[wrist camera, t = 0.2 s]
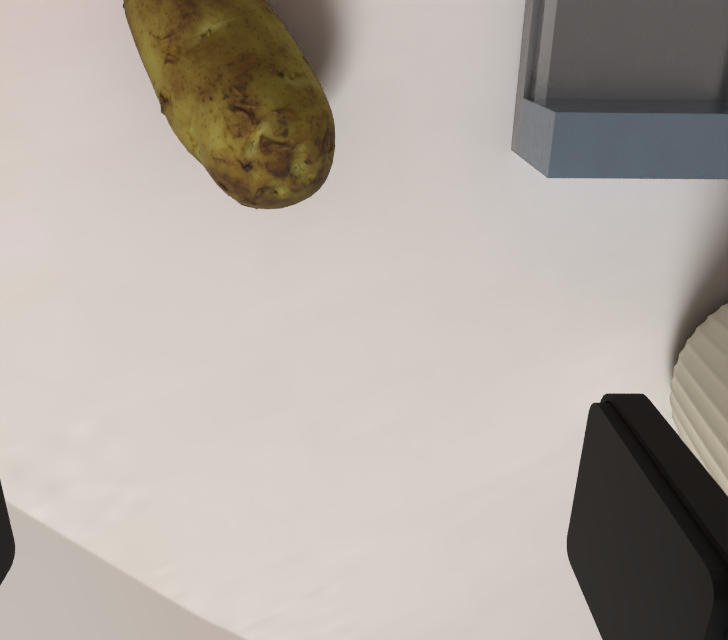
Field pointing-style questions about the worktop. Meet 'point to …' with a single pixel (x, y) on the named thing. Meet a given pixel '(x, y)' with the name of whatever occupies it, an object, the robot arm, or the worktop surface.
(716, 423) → the canister
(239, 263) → the worktop surface
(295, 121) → the potato
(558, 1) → the vise bed
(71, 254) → the worktop surface
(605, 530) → the robot arm
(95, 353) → the worktop surface
